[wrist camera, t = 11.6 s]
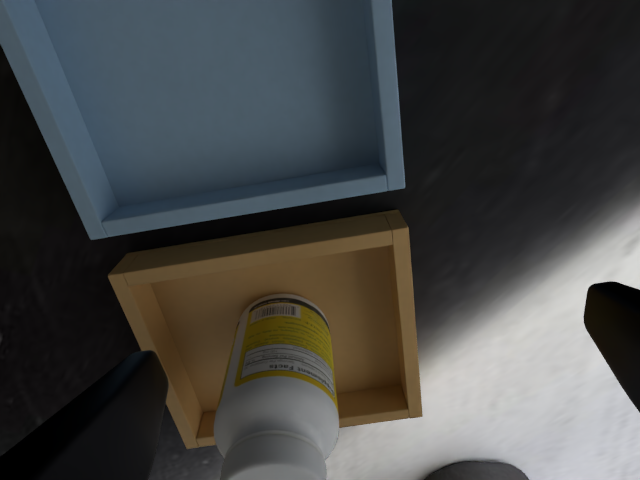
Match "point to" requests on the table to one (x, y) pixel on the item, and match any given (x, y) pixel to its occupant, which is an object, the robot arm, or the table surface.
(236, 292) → the tray
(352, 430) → the table surface
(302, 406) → the supplement bottle
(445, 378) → the table surface
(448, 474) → the pillar candle
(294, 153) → the tray
